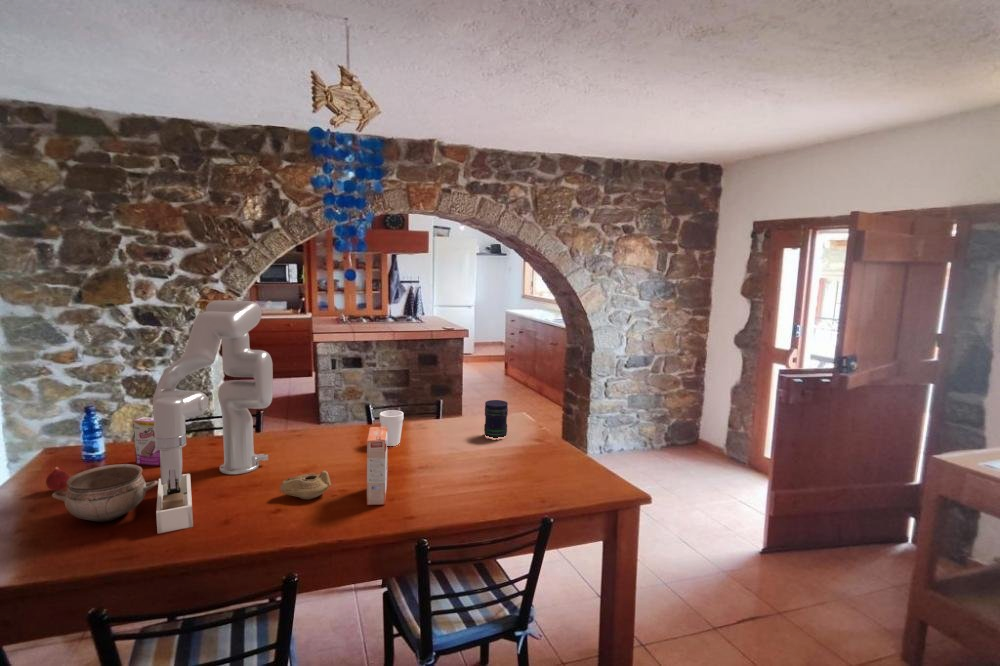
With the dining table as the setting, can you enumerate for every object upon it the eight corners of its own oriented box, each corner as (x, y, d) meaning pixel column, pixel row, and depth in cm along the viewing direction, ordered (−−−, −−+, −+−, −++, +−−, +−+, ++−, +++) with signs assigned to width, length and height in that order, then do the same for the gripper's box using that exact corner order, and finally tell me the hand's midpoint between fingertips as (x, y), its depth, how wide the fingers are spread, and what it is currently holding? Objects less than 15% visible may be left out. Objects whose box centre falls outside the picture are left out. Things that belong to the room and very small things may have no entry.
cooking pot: (41, 539, 143) (37, 495, 141) (67, 508, 160) (63, 468, 159) (152, 524, 152) (150, 482, 151) (165, 496, 170) (163, 459, 168)
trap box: (191, 491, 174) (190, 473, 173) (193, 526, 152) (192, 506, 151) (160, 496, 170) (158, 478, 169) (157, 533, 147) (156, 512, 147)
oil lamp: (279, 493, 174) (278, 469, 173) (327, 485, 181) (327, 462, 180) (282, 507, 164) (281, 482, 163) (333, 499, 171) (333, 474, 170)
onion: (75, 489, 173) (73, 465, 172) (55, 496, 168) (53, 471, 166) (62, 486, 175) (60, 462, 174) (42, 493, 169) (40, 469, 168)
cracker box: (386, 505, 168) (386, 439, 165) (366, 506, 167) (365, 440, 164) (388, 486, 181) (388, 425, 179) (369, 487, 180) (369, 426, 178)
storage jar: (481, 439, 231) (482, 405, 229) (486, 432, 240) (487, 399, 238) (505, 441, 229) (506, 406, 227) (508, 434, 239) (509, 400, 237)
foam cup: (400, 448, 217) (400, 417, 215) (377, 448, 217) (377, 416, 215) (405, 440, 226) (405, 410, 225) (382, 440, 226) (382, 409, 225)
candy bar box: (134, 465, 194) (131, 420, 192) (145, 459, 199) (142, 416, 196) (164, 467, 193) (161, 422, 190) (174, 461, 198) (171, 417, 195)
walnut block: (184, 508, 156) (183, 492, 155) (184, 516, 151) (183, 499, 151) (163, 512, 153) (162, 495, 152) (163, 520, 149) (162, 502, 148)
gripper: (156, 435, 158) (159, 495, 161) (154, 451, 145) (158, 516, 148) (185, 431, 162) (189, 490, 164) (186, 447, 149) (190, 510, 152)
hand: (174, 502), depth 156 cm, fingers closed
